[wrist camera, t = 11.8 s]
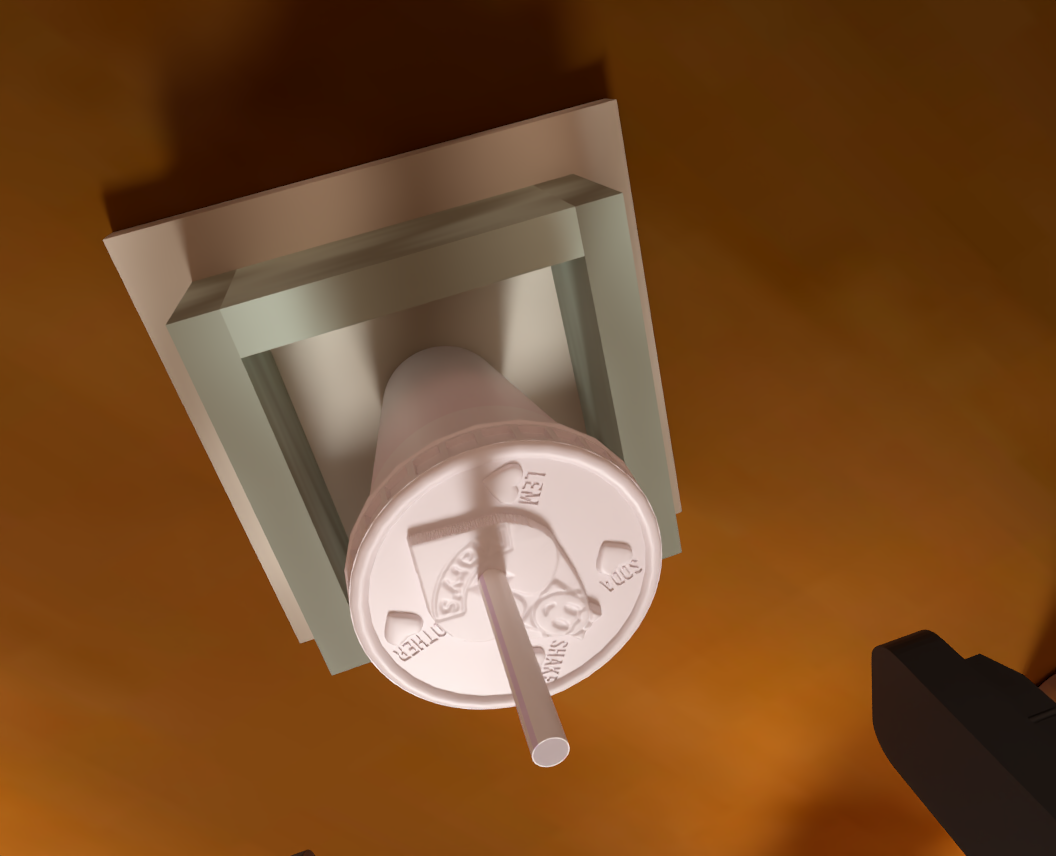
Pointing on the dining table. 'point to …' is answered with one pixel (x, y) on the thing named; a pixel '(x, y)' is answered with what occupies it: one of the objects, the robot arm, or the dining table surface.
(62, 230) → the dining table surface
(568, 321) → the green glass shallow box
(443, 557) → the smoothie
